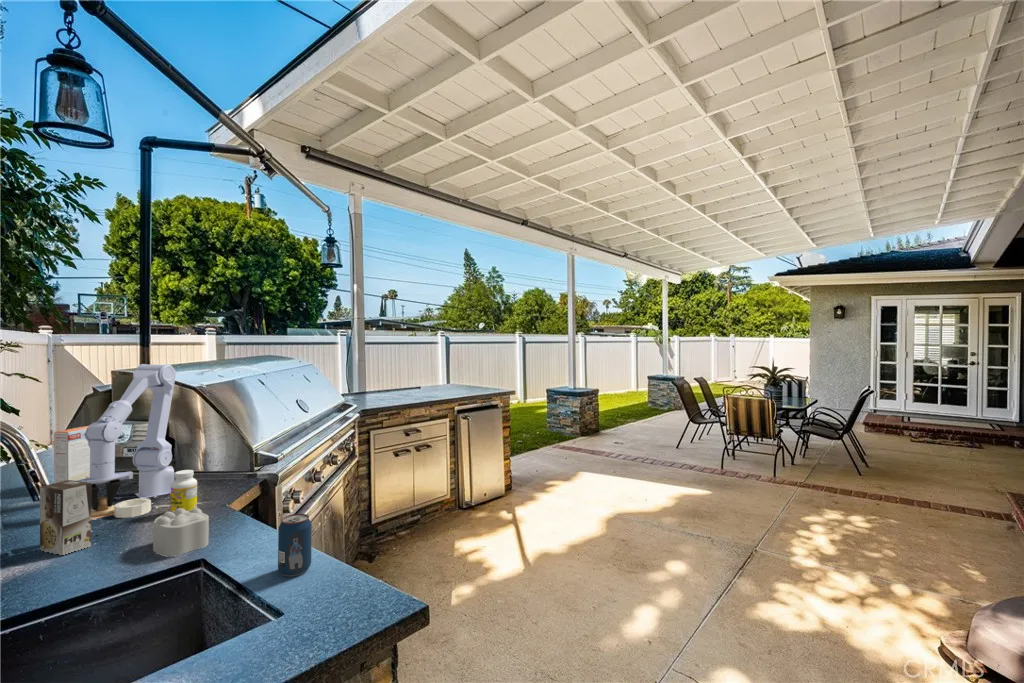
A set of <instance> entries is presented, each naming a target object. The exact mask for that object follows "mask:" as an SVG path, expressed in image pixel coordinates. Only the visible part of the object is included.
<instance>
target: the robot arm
mask: <svg viewBox="0 0 1024 683" xmlns="http://www.w3.org/2000/svg"><path fill="white" fill-rule="evenodd" d="M176 375H177V371H176V370H175V368H174V367H173V366H172V365H171V364H169V363H168V364H166V363H165V364H147V363H141V364H139V365H138V366H137V367H136V369H135V370H134V371H133V372H132V376H133V377H132V378H133V379H132V380H131V382H130V383H129V385H128V386H127V388H126V389H125V391H124V393H123V394H122V396H121V397H120V399H119V400H114V401H113V402H111V403H110V404H108V407H107V409H106V410H105V411H104V412H103V414H102V415H101V416H100V417H99V418H98V420H97V421H96V422H95V421H94V422H92V423H91V424H89V425H87V426H88V428H87V430H86V433H84V436H85V438H86V440H87V441H88V446H89V447H90V477H89V478H85V479H81V480H77V481H81V482H88V483H92V494H91V509H93V510H97V508H98V504H97V498H98V497H99V496H98V494H99V487H98V486H97V485H102V484H105V487H106V496H108V507H111V506H112V505H113V502H114V500H115V496H116V495H117V492H118V491H119V489H120V487H121V485H122V480H130V479H134V474H133V473H134V472H133V471H132V470H131V471H125V472H122V471H121V472H117V473H115V470H116V466H115V465H116V462H115V461H116V440H117V439H119V437H120V436H121V433H122V428H123V423H125V421H126V420H127V418H129V416H130V415H131V413H132V412H133V407H132V405H133V404H134V403H135V401H136V400H137V399H139V397H140V396H141V395H142V394H143V393H144V392H145V390H146V389H147V388H148V389H150V390H151V392H152V393H153V395H152V399H151V407H150V411H149V416H148V422H147V427H146V433H145V439H144V440H142V441H141V442H140V443H138V444H137V446H136V450H135V452H134V453H133V456H132V464H133V466H135V467H136V470H137V471H138V492H136V493H134V495H136V496H137V497H138V499H140V498H146V499H148V498H152V497H157V496H161V495H167V494H171V483H172V482H173V481H175V469H174V467H173V466H172V465H170V464H171V462H172V459H173V454H172V453H173V452H172V444H171V443H170V442H169V441H167V440H166V435H167V429H168V422H169V417H170V412H171V407H172V406H171V405H172V399H173V393H174V388H175V382H176Z"/></svg>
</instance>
